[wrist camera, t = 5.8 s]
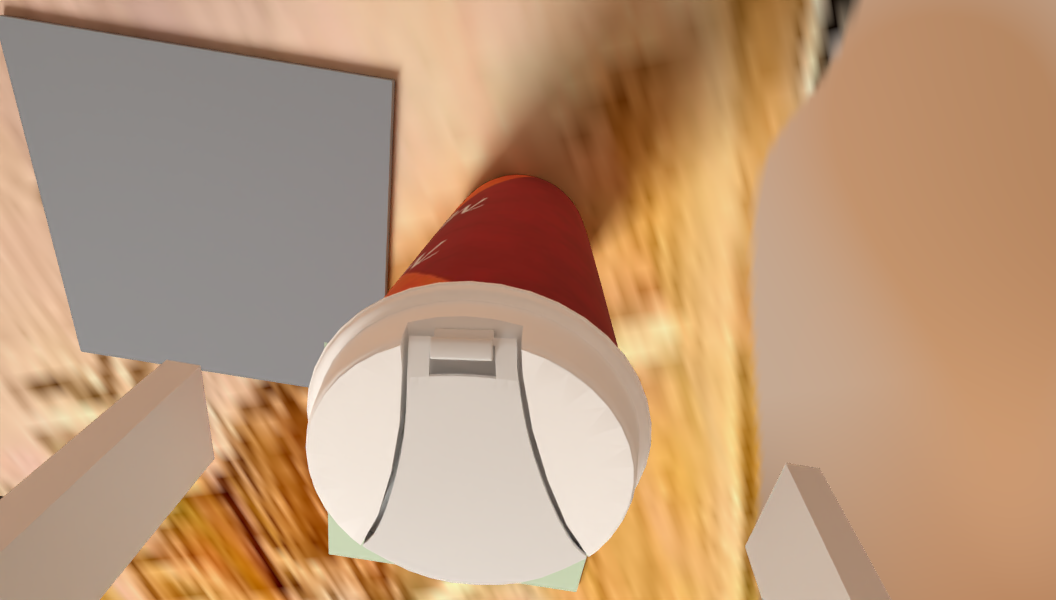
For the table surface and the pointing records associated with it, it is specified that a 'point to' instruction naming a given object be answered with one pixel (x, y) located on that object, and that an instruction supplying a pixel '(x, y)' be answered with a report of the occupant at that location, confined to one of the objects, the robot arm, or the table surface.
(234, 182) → the pad grey
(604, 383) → the coffee cup
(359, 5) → the table surface
